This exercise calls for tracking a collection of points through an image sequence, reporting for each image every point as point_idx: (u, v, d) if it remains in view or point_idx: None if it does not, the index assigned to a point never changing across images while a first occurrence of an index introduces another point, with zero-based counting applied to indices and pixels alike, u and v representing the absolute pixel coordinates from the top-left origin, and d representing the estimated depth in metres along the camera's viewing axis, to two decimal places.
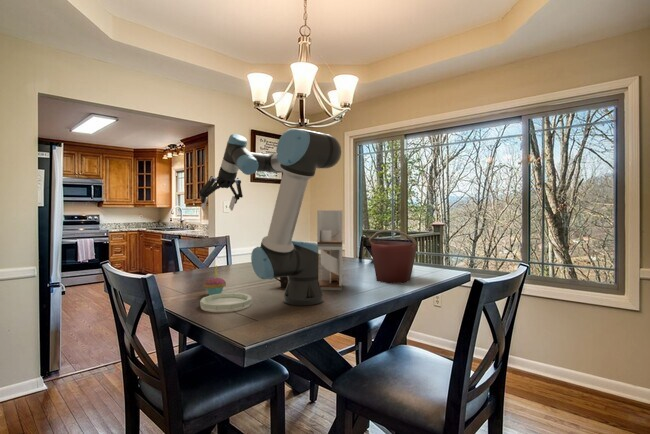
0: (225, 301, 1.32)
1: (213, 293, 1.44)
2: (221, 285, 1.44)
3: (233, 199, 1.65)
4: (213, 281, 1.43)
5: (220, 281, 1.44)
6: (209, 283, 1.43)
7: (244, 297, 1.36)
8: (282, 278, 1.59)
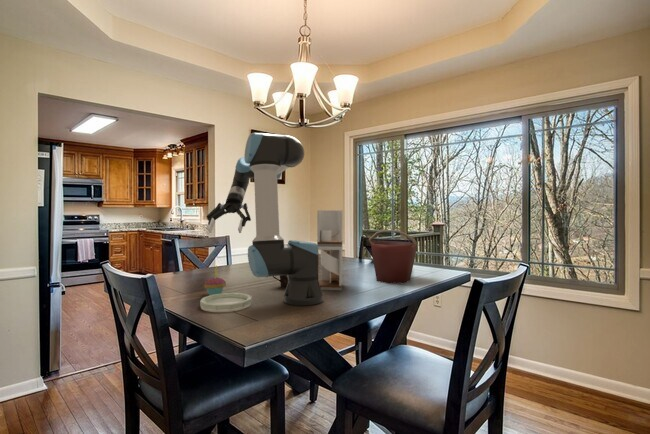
0: (225, 301, 1.32)
1: (213, 293, 1.44)
2: (221, 285, 1.44)
3: None
4: (213, 281, 1.43)
5: (220, 281, 1.44)
6: (209, 283, 1.43)
7: (244, 297, 1.36)
8: (282, 278, 1.59)
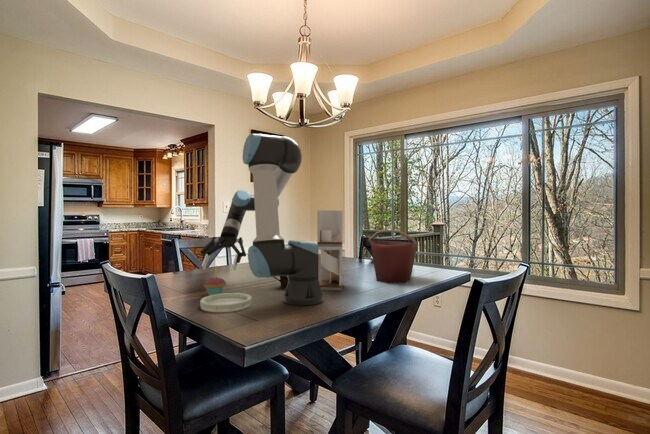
0: (225, 301, 1.32)
1: (213, 293, 1.44)
2: (221, 285, 1.44)
3: None
4: (213, 281, 1.43)
5: (220, 281, 1.44)
6: (209, 283, 1.43)
7: (244, 297, 1.36)
8: (282, 278, 1.59)
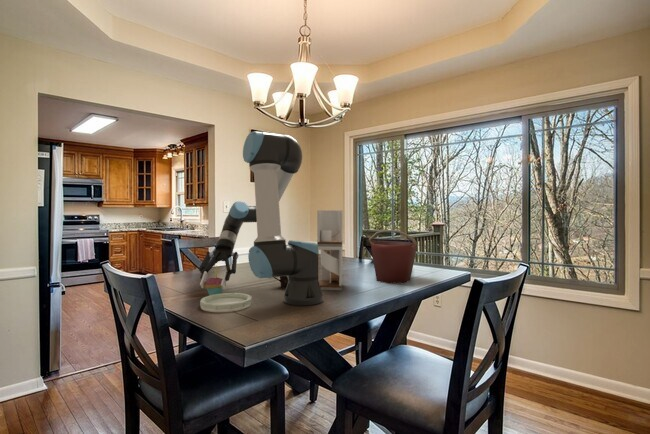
0: (225, 301, 1.32)
1: (213, 293, 1.44)
2: None
3: None
4: (213, 281, 1.43)
5: (220, 281, 1.44)
6: (209, 283, 1.43)
7: (244, 297, 1.36)
8: (282, 278, 1.59)
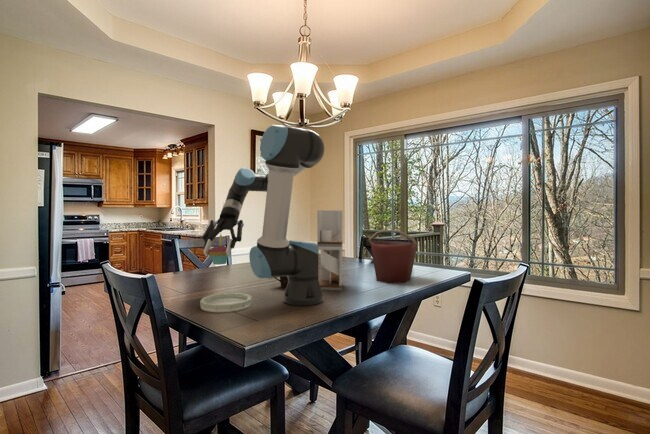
0: (225, 301, 1.32)
1: (218, 261, 1.36)
2: None
3: None
4: (217, 248, 1.35)
5: (225, 248, 1.36)
6: (213, 250, 1.35)
7: (244, 297, 1.36)
8: (282, 278, 1.59)
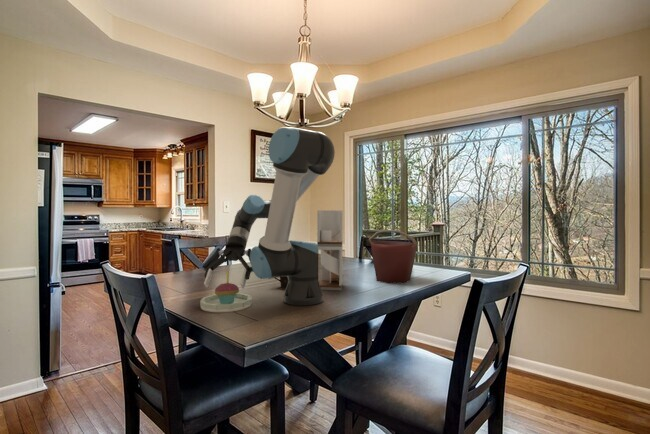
0: None
1: (225, 301, 1.28)
2: (234, 292, 1.28)
3: None
4: (225, 287, 1.27)
5: (232, 287, 1.28)
6: (220, 289, 1.27)
7: (244, 297, 1.36)
8: (282, 278, 1.59)
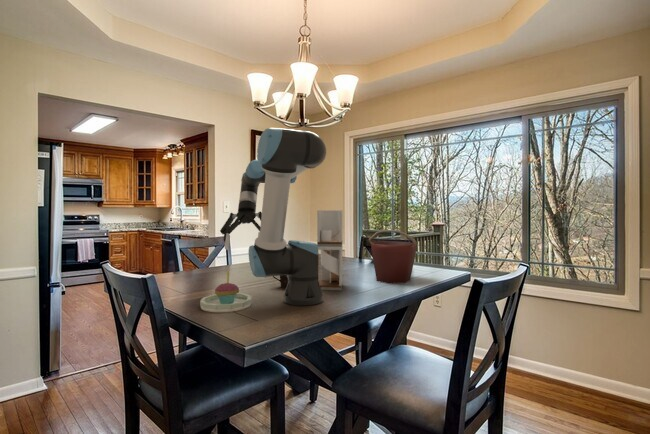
0: None
1: (225, 301, 1.28)
2: (234, 292, 1.28)
3: None
4: (225, 287, 1.27)
5: (233, 287, 1.28)
6: (220, 290, 1.27)
7: (244, 297, 1.36)
8: (282, 278, 1.59)
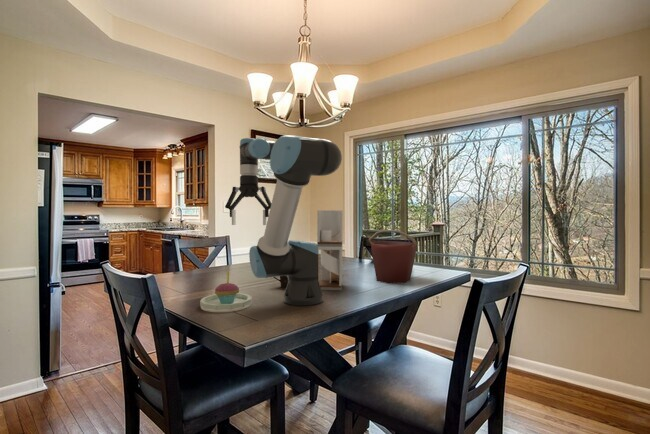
0: None
1: (225, 301, 1.28)
2: (234, 292, 1.28)
3: None
4: (225, 287, 1.27)
5: (233, 287, 1.28)
6: (220, 290, 1.27)
7: (244, 297, 1.36)
8: (282, 278, 1.59)
